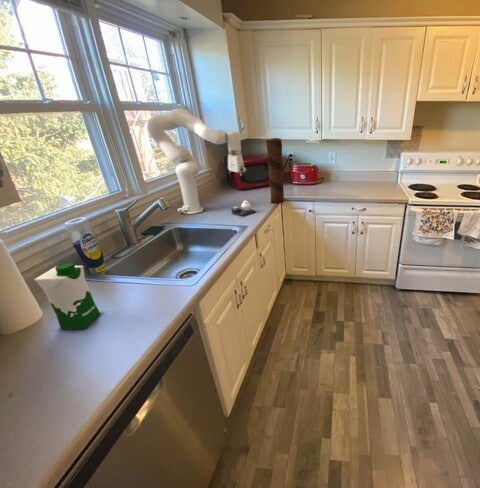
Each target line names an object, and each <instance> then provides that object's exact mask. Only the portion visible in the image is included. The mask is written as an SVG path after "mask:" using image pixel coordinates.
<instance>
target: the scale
mask: <svg viewBox="0 0 480 488" xmlns="http://www.w3.org/2000/svg"><path fill="white" fill-rule="evenodd" d="M230 212H231V214H232V215H236V216H239V217H241V218H244V217H246V216H250V215H252V214H255V213H256V209H252V208H250V209H249V211H244V210H243V208H242V207H241V208H240V207H238V209H237V210H234V208H233V207H232V208H231V209H230Z"/></svg>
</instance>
